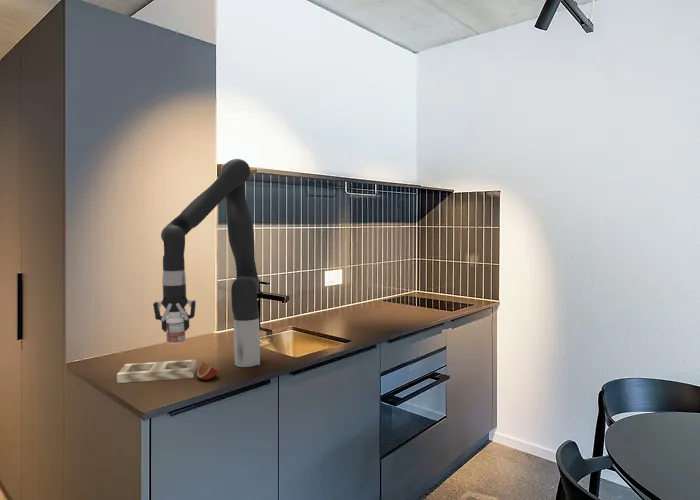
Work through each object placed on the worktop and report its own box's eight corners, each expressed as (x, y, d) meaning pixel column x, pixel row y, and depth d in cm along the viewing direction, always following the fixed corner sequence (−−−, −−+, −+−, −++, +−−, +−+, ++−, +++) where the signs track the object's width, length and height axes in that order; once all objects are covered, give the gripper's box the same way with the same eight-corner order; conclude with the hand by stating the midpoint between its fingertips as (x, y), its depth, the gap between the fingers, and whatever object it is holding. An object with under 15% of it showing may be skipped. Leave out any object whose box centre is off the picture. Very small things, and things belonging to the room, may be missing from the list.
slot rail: (196, 367, 170) (196, 359, 170) (193, 377, 159) (192, 369, 159) (126, 372, 165) (125, 364, 165) (117, 383, 155) (116, 374, 154)
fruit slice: (193, 377, 160) (193, 363, 160) (212, 373, 164) (212, 359, 164) (203, 384, 154) (202, 369, 153) (222, 379, 158) (221, 365, 157)
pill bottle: (169, 340, 166) (168, 309, 165) (187, 339, 166) (186, 309, 165) (164, 345, 159) (163, 313, 159) (182, 344, 160) (182, 312, 159)
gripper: (197, 281, 166) (198, 327, 168) (154, 282, 163) (156, 329, 165) (194, 284, 159) (196, 332, 160) (149, 285, 156) (151, 334, 157)
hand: (175, 330), depth 162 cm, fingers closed on pill bottle, 6 cm apart
